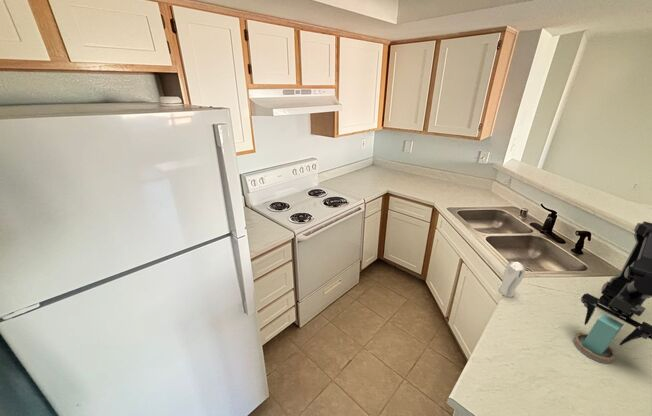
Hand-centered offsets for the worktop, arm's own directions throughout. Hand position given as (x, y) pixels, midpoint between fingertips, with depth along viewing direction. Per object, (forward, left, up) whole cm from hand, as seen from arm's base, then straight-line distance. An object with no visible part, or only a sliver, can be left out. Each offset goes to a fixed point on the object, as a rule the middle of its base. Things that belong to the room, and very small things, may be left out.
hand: (601, 334), depth 90 cm
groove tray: (-1, -1, -9) cm, 9 cm away
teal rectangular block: (-1, -1, -8) cm, 8 cm away
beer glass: (+15, -28, -9) cm, 33 cm away
